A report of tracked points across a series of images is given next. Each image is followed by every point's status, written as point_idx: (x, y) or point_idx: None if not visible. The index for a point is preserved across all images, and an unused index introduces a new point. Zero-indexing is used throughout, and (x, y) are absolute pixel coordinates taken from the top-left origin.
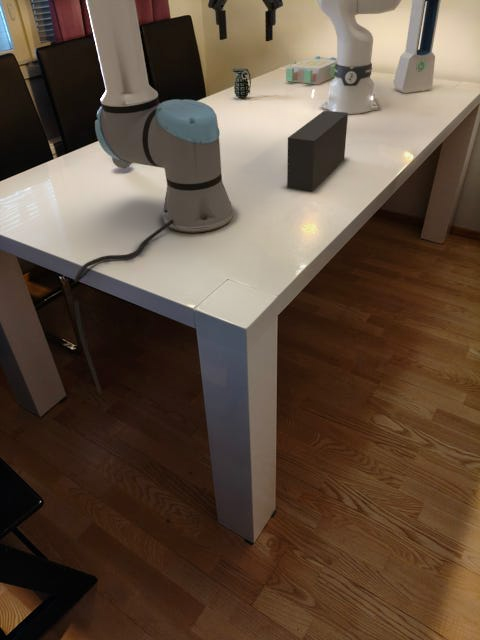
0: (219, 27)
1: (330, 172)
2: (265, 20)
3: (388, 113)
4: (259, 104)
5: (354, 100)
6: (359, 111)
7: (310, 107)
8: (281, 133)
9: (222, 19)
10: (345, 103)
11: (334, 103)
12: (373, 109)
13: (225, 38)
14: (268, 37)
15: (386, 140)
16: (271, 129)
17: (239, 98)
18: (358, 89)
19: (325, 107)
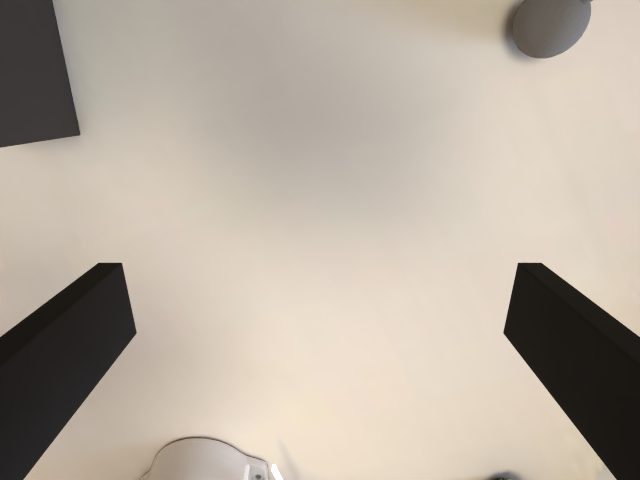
0: (598, 309)
1: None
2: (11, 354)
3: (106, 466)
4: (435, 454)
5: (166, 474)
6: (161, 452)
7: (298, 462)
8: (274, 270)
9: (616, 385)
10: (188, 462)
11: (222, 464)
12: (144, 476)
13: (509, 314)
14: (83, 278)
15: (5, 299)
16: (315, 291)
17: (506, 478)
18: None
19: (254, 461)
